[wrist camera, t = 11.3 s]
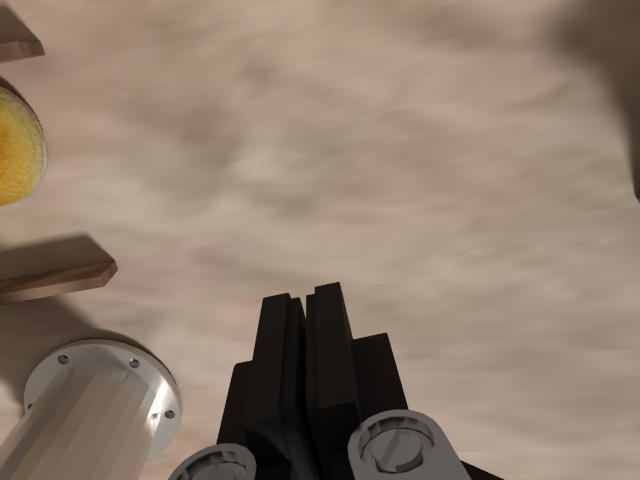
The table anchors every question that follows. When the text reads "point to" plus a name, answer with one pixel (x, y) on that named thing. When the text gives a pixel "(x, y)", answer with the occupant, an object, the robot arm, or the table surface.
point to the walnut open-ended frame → (54, 280)
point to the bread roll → (19, 149)
